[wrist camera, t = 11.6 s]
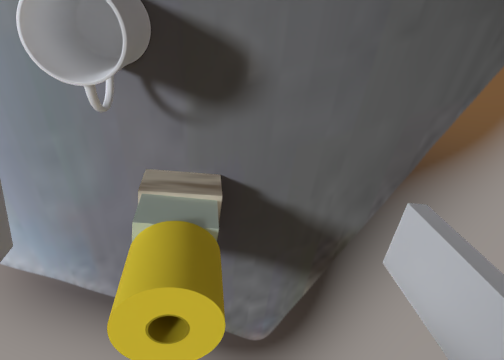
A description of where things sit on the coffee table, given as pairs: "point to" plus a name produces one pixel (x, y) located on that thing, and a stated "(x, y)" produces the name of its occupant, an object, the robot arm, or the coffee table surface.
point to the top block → (175, 212)
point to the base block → (182, 185)
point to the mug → (84, 40)
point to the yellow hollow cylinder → (169, 295)
